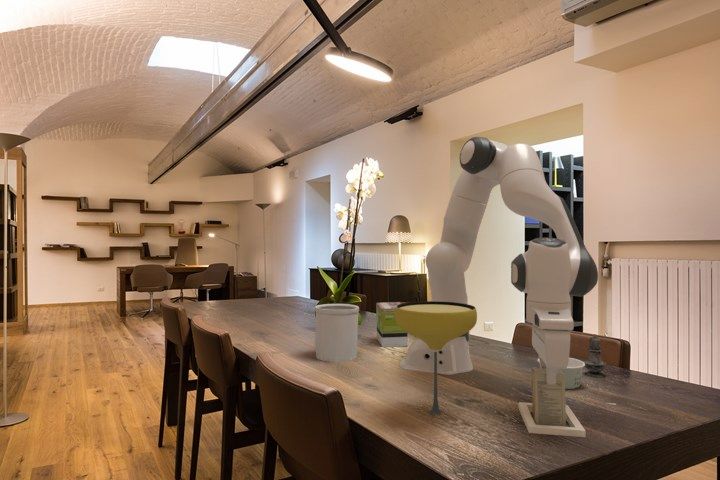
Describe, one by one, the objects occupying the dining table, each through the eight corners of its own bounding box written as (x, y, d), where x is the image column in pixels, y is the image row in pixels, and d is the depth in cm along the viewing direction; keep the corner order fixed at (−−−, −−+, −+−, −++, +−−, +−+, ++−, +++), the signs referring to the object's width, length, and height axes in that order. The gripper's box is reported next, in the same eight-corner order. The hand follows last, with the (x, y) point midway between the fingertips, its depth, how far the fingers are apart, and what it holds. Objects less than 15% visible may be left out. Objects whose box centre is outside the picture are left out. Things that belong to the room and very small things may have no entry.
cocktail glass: (493, 428, 101) (493, 310, 100) (414, 439, 95) (413, 314, 95) (453, 400, 118) (452, 299, 118) (384, 408, 113) (384, 302, 113)
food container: (582, 395, 122) (582, 369, 122) (533, 387, 128) (533, 363, 128) (587, 383, 132) (587, 359, 132) (542, 376, 138) (542, 353, 138)
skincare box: (562, 423, 103) (562, 367, 103) (566, 431, 99) (566, 373, 98) (530, 420, 104) (531, 365, 104) (533, 429, 100) (534, 371, 100)
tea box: (375, 338, 190) (375, 302, 190) (400, 338, 191) (400, 301, 191) (381, 347, 175) (381, 307, 175) (408, 346, 176) (408, 307, 176)
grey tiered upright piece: (608, 378, 136) (608, 336, 136) (586, 377, 137) (586, 335, 137) (602, 372, 142) (602, 332, 142) (581, 371, 143) (581, 331, 143)
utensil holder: (351, 351, 169) (351, 302, 168) (365, 362, 154) (365, 308, 154) (310, 355, 164) (310, 304, 164) (321, 366, 150) (320, 310, 150)
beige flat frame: (528, 439, 95) (528, 426, 95) (518, 413, 109) (518, 402, 109) (585, 443, 93) (585, 430, 93) (567, 416, 107) (567, 405, 107)
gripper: (525, 306, 112) (525, 365, 112) (541, 322, 92) (540, 393, 92) (553, 307, 111) (553, 366, 111) (576, 323, 91) (575, 395, 91)
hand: (547, 378), depth 101 cm, fingers closed on skincare box, 4 cm apart
